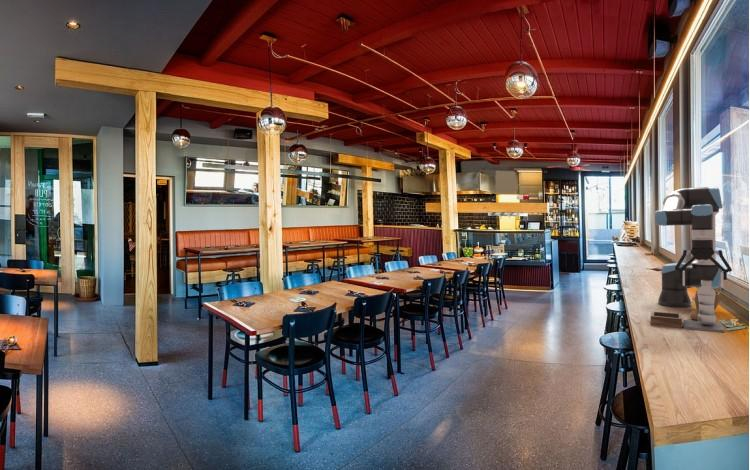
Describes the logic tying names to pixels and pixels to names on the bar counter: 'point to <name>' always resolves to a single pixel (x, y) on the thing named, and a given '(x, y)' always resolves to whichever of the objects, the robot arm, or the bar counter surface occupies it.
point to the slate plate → (702, 326)
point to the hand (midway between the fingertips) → (702, 286)
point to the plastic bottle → (706, 303)
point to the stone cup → (695, 312)
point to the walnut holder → (666, 319)
